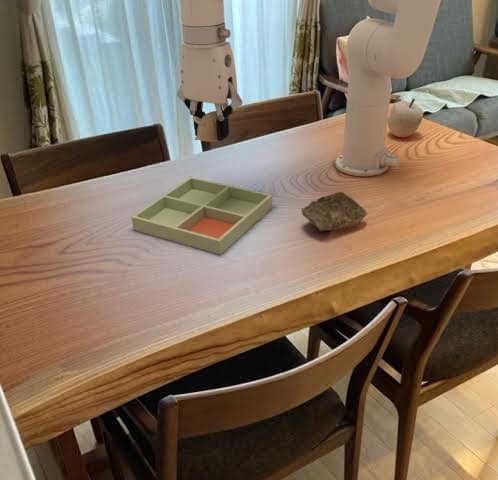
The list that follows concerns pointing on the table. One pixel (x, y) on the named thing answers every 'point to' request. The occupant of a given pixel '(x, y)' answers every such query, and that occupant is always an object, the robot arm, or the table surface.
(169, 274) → the table surface
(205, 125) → the decorative ornament
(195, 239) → the grid
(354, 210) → the stone
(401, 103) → the decorative object
